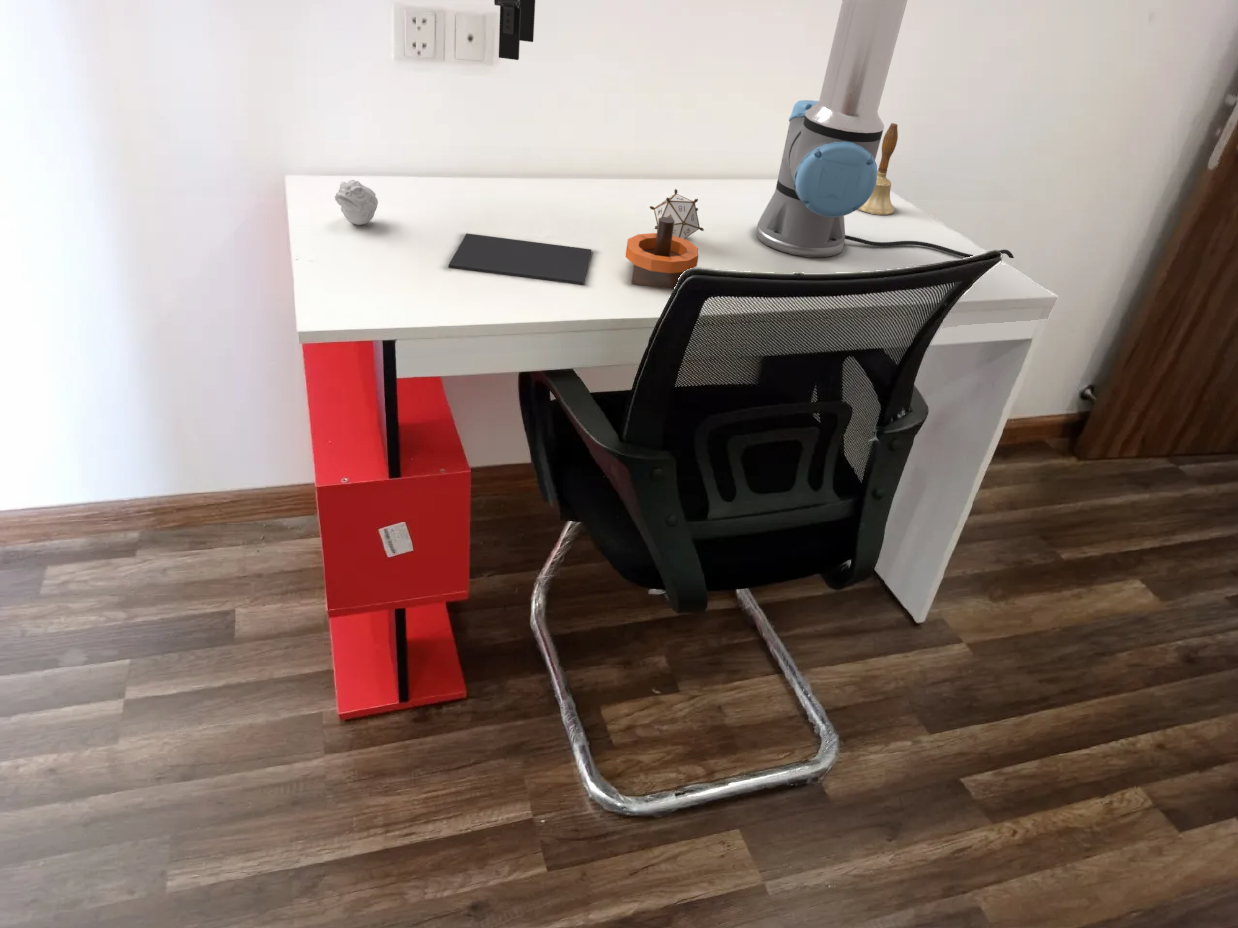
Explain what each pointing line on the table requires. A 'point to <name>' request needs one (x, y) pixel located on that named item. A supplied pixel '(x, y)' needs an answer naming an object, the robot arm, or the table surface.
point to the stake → (661, 249)
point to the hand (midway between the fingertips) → (516, 49)
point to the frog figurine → (356, 202)
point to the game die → (679, 214)
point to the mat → (522, 258)
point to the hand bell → (883, 178)
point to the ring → (661, 263)
